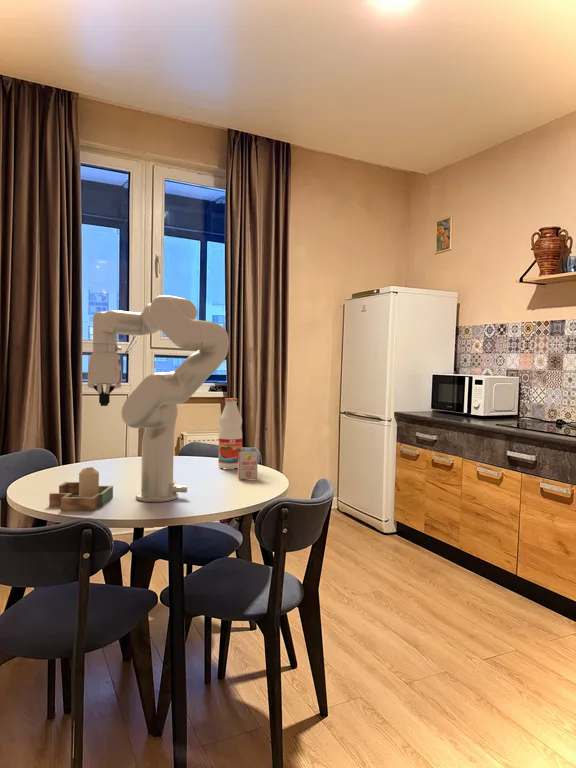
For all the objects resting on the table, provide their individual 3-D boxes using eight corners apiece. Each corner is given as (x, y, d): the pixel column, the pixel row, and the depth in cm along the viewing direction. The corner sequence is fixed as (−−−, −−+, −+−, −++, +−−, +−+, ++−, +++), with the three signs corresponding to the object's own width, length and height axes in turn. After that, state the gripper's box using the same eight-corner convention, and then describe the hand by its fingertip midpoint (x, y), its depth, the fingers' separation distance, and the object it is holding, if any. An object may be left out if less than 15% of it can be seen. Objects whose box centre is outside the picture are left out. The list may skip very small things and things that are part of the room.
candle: (96, 503, 158) (97, 469, 158) (77, 504, 157) (77, 469, 157) (100, 499, 164) (100, 466, 163) (80, 499, 163) (81, 466, 162)
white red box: (237, 478, 199) (238, 451, 198) (256, 477, 200) (256, 450, 200) (238, 480, 195) (238, 452, 195) (257, 479, 196) (257, 452, 196)
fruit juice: (240, 465, 224) (241, 397, 223) (242, 469, 215) (244, 399, 214) (217, 465, 223) (218, 397, 222) (218, 470, 213) (220, 399, 213)
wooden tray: (117, 493, 171) (117, 482, 171) (97, 510, 150) (97, 498, 150) (65, 493, 170) (65, 481, 170) (38, 510, 150) (38, 498, 149)
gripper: (130, 350, 182) (129, 405, 183) (85, 349, 181) (84, 404, 182) (125, 350, 175) (124, 406, 175) (77, 349, 174) (77, 406, 174)
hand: (104, 405), depth 179 cm, fingers closed
